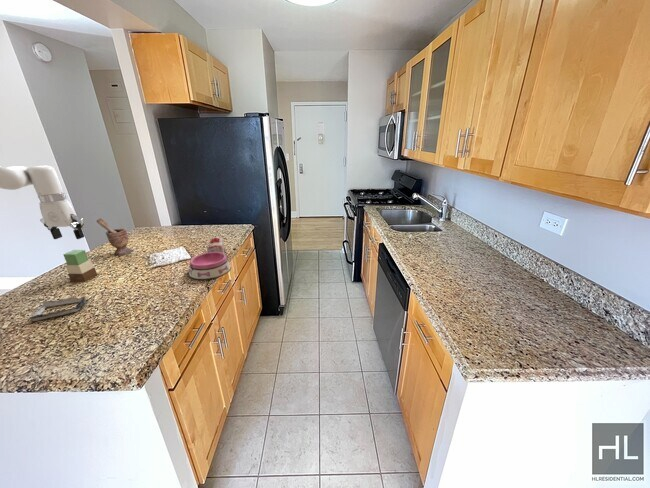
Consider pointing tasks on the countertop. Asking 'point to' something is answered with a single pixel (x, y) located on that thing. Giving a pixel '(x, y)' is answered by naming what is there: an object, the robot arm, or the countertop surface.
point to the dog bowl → (209, 266)
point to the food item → (216, 245)
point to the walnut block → (83, 276)
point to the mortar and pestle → (116, 238)
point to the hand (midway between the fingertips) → (69, 238)
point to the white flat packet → (169, 256)
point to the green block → (76, 257)
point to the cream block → (80, 268)
